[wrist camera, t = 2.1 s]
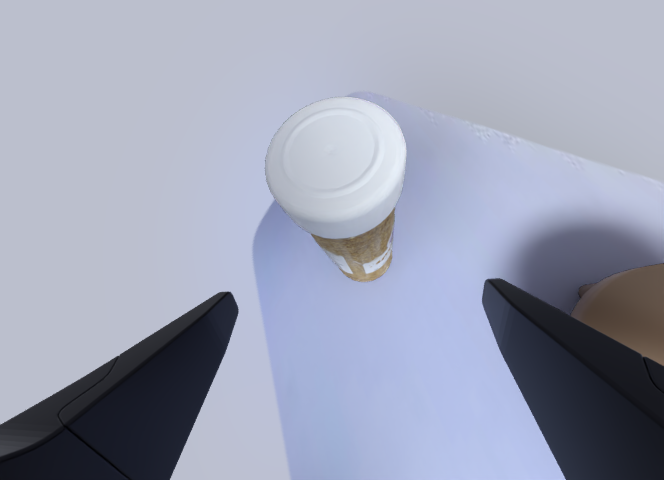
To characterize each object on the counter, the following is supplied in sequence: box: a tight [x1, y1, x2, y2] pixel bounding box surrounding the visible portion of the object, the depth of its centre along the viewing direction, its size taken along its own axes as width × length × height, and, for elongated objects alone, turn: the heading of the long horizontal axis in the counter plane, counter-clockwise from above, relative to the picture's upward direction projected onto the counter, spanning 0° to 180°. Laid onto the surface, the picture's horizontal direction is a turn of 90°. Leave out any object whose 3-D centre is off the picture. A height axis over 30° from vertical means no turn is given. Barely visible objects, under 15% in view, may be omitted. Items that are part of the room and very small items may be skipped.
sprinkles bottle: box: [265, 97, 406, 282], centre depth 14 cm, size 5×5×14 cm
